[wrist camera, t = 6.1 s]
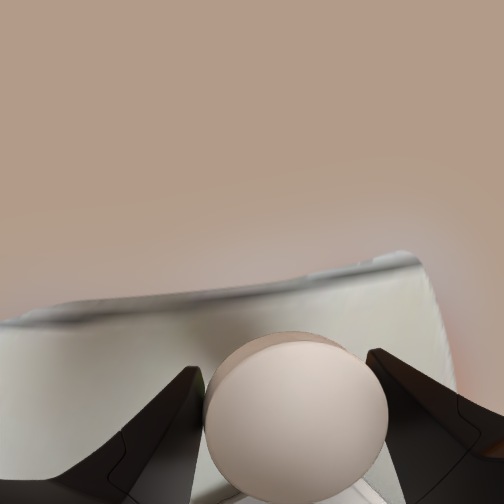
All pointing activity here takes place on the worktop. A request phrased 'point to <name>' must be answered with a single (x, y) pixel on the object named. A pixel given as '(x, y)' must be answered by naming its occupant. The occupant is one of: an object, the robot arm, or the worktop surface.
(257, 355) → the supplement bottle
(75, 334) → the worktop surface
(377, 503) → the charcoal tray
